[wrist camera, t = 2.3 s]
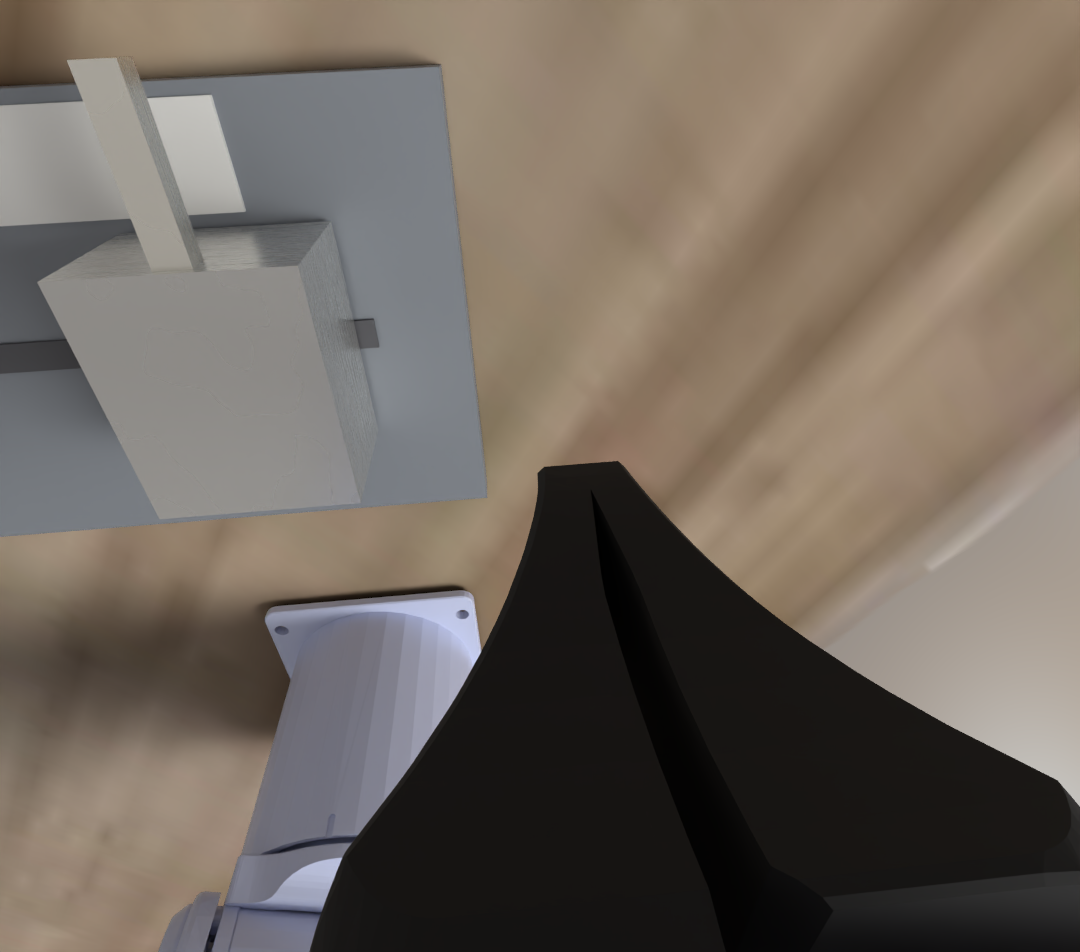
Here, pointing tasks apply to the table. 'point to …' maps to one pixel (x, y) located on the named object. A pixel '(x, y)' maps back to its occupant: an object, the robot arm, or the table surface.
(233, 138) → the gauge board
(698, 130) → the table surface
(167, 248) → the slider block with tab
